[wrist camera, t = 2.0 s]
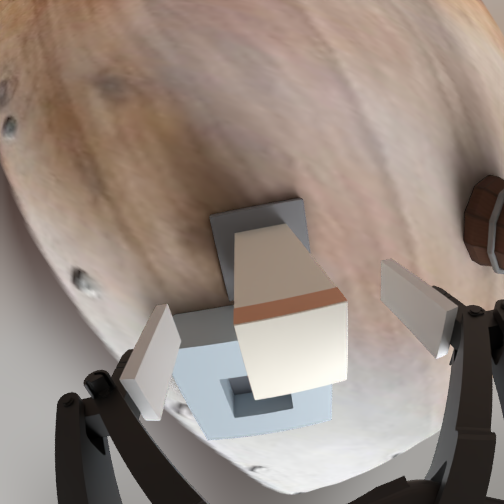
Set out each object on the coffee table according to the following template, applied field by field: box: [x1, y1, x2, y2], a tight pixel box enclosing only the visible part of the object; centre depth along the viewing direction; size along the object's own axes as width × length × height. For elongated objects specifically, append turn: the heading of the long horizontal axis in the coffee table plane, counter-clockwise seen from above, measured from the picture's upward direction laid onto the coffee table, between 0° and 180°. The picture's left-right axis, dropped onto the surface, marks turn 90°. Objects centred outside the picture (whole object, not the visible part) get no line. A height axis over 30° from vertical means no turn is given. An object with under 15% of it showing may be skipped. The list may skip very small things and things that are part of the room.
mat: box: [209, 198, 310, 301], centre depth 24 cm, size 8×8×1 cm
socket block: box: [172, 305, 332, 440], centre depth 26 cm, size 14×14×6 cm
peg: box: [233, 223, 348, 400], centre depth 17 cm, size 4×4×14 cm
